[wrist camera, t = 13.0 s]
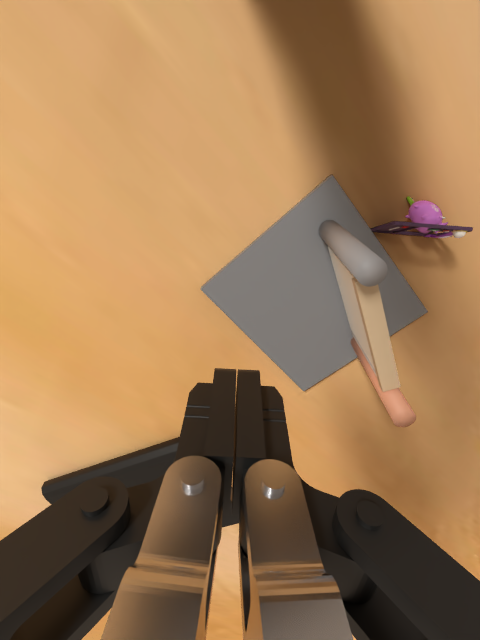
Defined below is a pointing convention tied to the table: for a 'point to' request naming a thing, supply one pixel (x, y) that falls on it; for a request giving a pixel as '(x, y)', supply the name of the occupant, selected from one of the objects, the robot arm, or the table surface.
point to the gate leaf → (368, 324)
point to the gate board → (314, 291)
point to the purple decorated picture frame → (423, 222)
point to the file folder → (125, 473)
